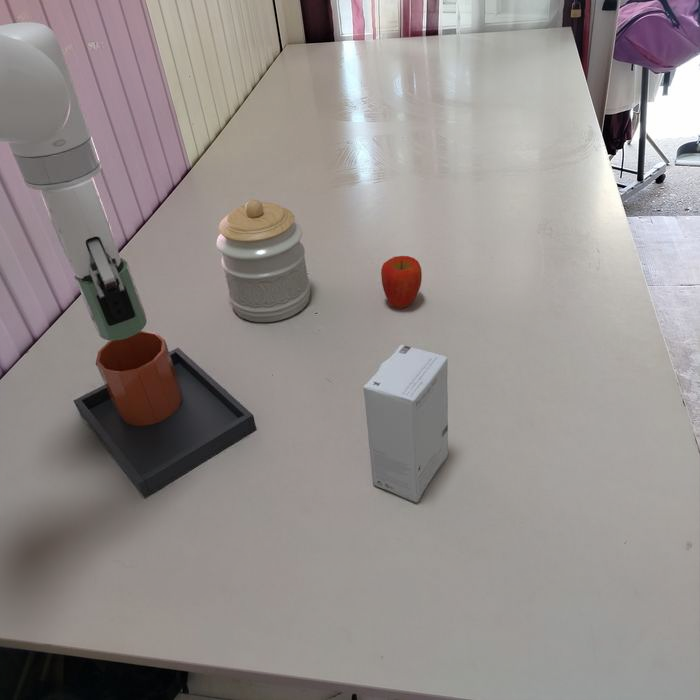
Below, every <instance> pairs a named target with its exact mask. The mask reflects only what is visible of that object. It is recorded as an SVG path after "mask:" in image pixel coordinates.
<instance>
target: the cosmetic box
mask: <svg viewBox="0 0 700 700" xmlns="http://www.w3.org/2000/svg"><path fill="white" fill-rule="evenodd" d="M448 359H449V358H448V356H446V355H443V354H439V353H435V352H431V351H428V350H424V349H419V348H416V347H412V346H409V345H405V344H400V345H399V346H398V347H397V349H396V350H395V351H394V352H393V353H392V354H391V355H390V357H389V358H388V359H385V360H384V361H383V362H382V363H381V364H380V365H379V369H378V371H377V372H376V373H375V374H374V375H373V376H372V377H371V378H370V379H369V380H368V381H367V382H366V383H365V384H364V385H363V395H364V404H365V416H366V426H367V436H368V446H369V447H368V448H369V458H370V466H371V476H372V484H373V485H374V486H376V487H378V488H380V489H383V490H385V491H388V492H389V493H392V494H394V495H397V496H399V497H401V498H403V499H406V500H408V501H410V502H412V503H415V504H417V503H418V502H419V501H420V499H421V497H422V495H423V493H424V492H425V490H426V488H427V486H428V485H429V484H430V482H431V480H432V479H433V477H434V476H435V474H436V473H437V472H438V470H439V469H440V467H441V466H442V464H443V463H444V462H445V461H446V459H447V458H448V455H449V453H448V452H449V430H448V429H449V426H448V425H449V419H448V417H449V415H448V414H449V413H448V412H449V411H448V409H449V402H448V401H449V399H448V398H449V397H448V395H449V393H448V361H449V360H448Z"/></svg>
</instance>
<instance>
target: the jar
mask: <svg viewBox="0 0 700 700" xmlns="http://www.w3.org/2000/svg"><path fill="white" fill-rule="evenodd" d="M295 220H296V219H295V215H294V213H293V212H292V211H291V210H290V209H288V208H287V207H284V206H280V205H279V204H277V203H273V202H267V201H266V202H264V201H260V200H259V199H257V198H251V199H249V200H247V202H246V203H245V204H244V205H241V206H239V207H237V208H235V209H233V210H231V211H230V212H229V214H227V215H226V216H225V217H223V219H222V220H221V221H220V223H219V224H218V231H219V235H218V237H217V238H216V247H217V250H219V252H220V253H221V254H222V257H221V262H220V263H221V267H222V269H223V271H224V275H225V279H226V283H227V289H228V297H229V301H230V304H231V307H232V308H233V310H234V312H235V313H236V315H237V316H239V317H240V318H242V319H244V320H247V321H250V322H256V323H271V322H272V323H273V322H277V321H282V320H285V319H288V318H290V317H293V316H295V315H296V314H298V313H299V312H301V311H302V310H303V309H304V308H305V307H306V306H307V305H308V303H309V301H310V295H311V294H310V293H311V283H310V280H309V278H308V272H307V270H308V269H307V265H306V257H305V254H306V249H305V247H304V245H303V243H302V242H301V239H302V236H303V229H302V226H300V224H299V223H298V222H297V221H295Z"/></svg>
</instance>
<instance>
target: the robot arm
mask: <svg viewBox="0 0 700 700" xmlns="http://www.w3.org/2000/svg"><path fill="white" fill-rule="evenodd" d="M80 102H81V101H80V99H79V97H78V93H77V91H76V88H75V85H74V82H73V79H72V76H71V73H70V69H69V67H68V63H67V61H66V58H65V55H64V52H63V49H62V47H61V43H60V41H59V38H58V37H57V35H56V34H55V32H54V31H53V30H52V29H51V28H50V26H47V25H45V24H43V23H41V22H40V23H39V22H36V21H35V22H33V21H25V22H13V23H5V24H1V25H0V143H2V144H3V143H4V144H8V146H9V148H10V150H11V152H12V155H13V157H14V160H15V162H16V164H17V167H18V169H19V171H20V174H21V176H22V178H23V181H24V183H25V185H26V187H27V188H30V189H32V190H36V191H37V190H38V191H39V193H40V196H41V198H42V202H43V204H44V206H45V209H46V212H47V215H48V217H49V219H50V222H51V224H52V226H53V229H54V231H55V234H56V236H57V238H58V240H59V242H60V243H59V244H60V245H61V248H62V250H63V252H64V255H65V257H66V259H67V261H68V263H69V265H70V267H71V269H72V271H73V273H74V276H75V275H76V276H77V277H78V278H81V279H82V278H84V276H88V275H89V274H90V276H91V278H92V280H93V283H94V285H95V288H96V290H97V292H98V295H97V296H96V297H97V299H98V302H99V304H100V307H101V309H102V312H103V314H104V317H105V319H106V322H107V324H108V325H109V326H112V325H115V324H118V323H121V322H124V321H126V320H129V319H132V318H134V317H135V312H134V309H133V307H132V304H131V301H130V298H129V296H128V293H127V290H126V287H125V286H123V284H122V281H121V279H120V276H119V274H118V271H117V269H116V266H117V267H118V266H119V265H120V262H121V260H120V258H121V256H120V253H119V250H118V246H117V243H116V239H115V237H114V234H113V233H114V232H113V230H112V227H111V224H110V221H109V217H108V216H107V212H106V210H105V207H104V204H103V201H102V198H101V195H100V193H99V189H98V187H97V185H96V182H95V179H94V177H95V176H97V175H98V174H99V173H100V171H101V170H102V163H101V161H100V158H99V155H98V152H97V149H96V146H95V143H94V141H93V137H92V134H91V132H90V129H89V126H88V123H87V120H86V116H85V114H84V112H83V108H82V105H81V103H80ZM108 260H109V262H108ZM109 263H110V264H109ZM92 264H96V266H97V268H96V269H93V270H92V268H91V265H92ZM99 274H100V276H101V279H102V281H100V283H99V281H98V278H97V276H96V275H99Z"/></svg>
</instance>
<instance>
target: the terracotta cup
mask: <svg viewBox="0 0 700 700" xmlns="http://www.w3.org/2000/svg"><path fill="white" fill-rule="evenodd" d="M169 352H170V351H169V348H168V345H167V342H166V339H165V338H163V336H161V335H160V334H159V333H158V332H155V331H154V332H153V331H148V330H141V331H140V332H139V333H137V334H135V335H133V336H131V337H129V338H126V339H122V340H108V341H107V342H106V343H105V344H104V345H103V346H102V347H101V348H100V349H99V350H98V351H97V355H96V359H95V365H96V367H97V369H98V372H99V375H100V376H101V378H102V381H103V383H104V385H105V386H106V388H107V390H108V393H109V395H110V397H111V400H112V402H113V404H114V407H115V409H116V411H117V413H118V414H119V416H120V418H121V419H122V420H123V421H124V422H126V423H128V424H130V425H135V426H146V425H151V424H155V423H158V422H160V421H163V420H164V419H166V418H168V417H169V416H171V415H172V414H173V413H174V412H175V411H176V410H177V409H178V408H179V406H180V404H181V401H182V393H181V387H180V384H179V381H178V378H177V375H176V372H175V369H174V366H173V363H172V360H171V357H170V354H169Z"/></svg>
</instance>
